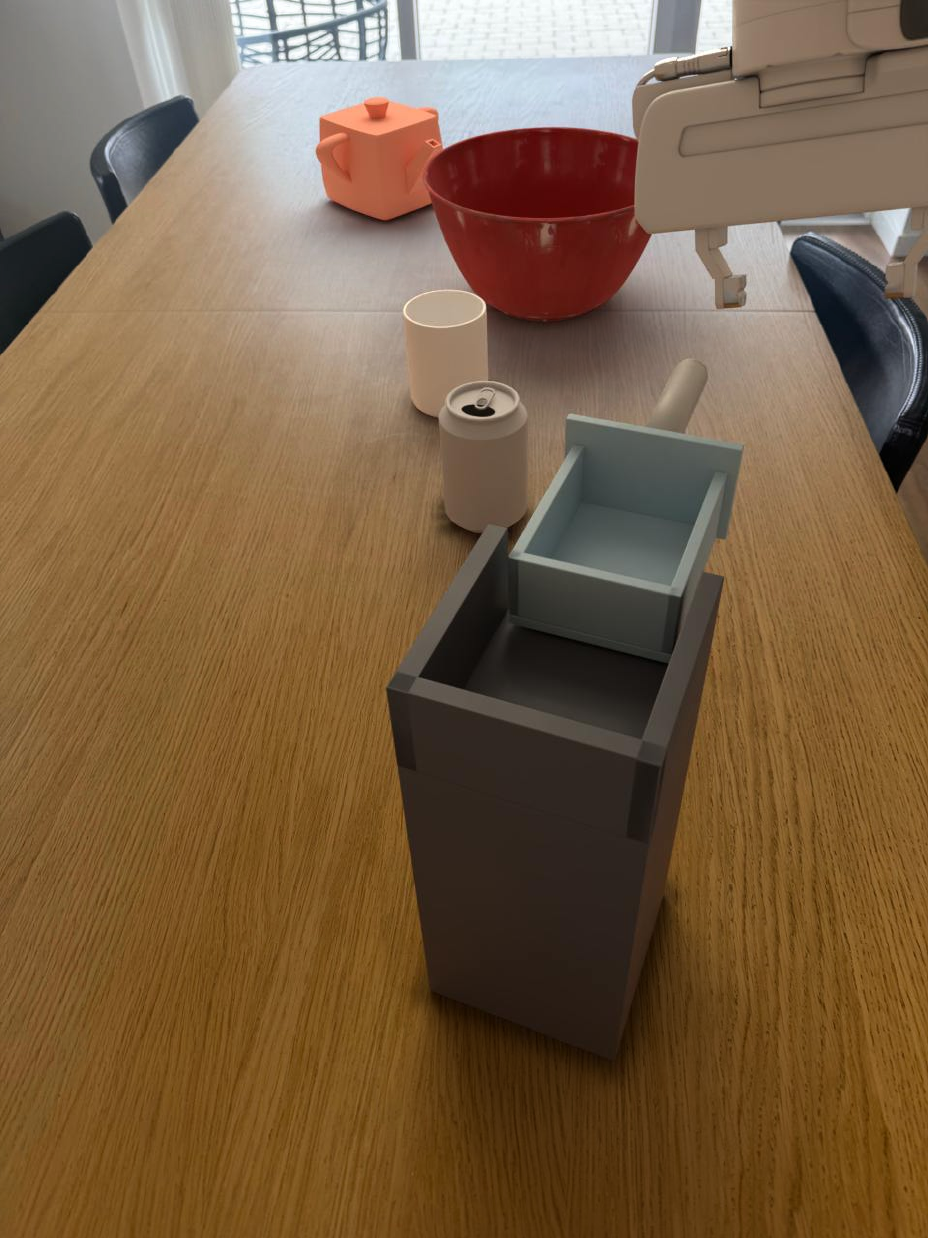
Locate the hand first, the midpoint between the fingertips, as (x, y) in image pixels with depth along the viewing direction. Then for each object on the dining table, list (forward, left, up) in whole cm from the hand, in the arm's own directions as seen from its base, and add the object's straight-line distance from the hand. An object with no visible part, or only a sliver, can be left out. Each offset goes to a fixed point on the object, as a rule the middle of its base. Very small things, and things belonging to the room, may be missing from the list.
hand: (812, 302), depth 56 cm
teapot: (+64, -73, -28) cm, 101 cm away
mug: (+35, -27, -28) cm, 53 cm away
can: (+24, -8, -28) cm, 38 cm away
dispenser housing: (+5, +29, -28) cm, 41 cm away
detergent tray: (+5, +15, -6) cm, 17 cm away
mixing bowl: (+33, -51, -28) cm, 67 cm away
